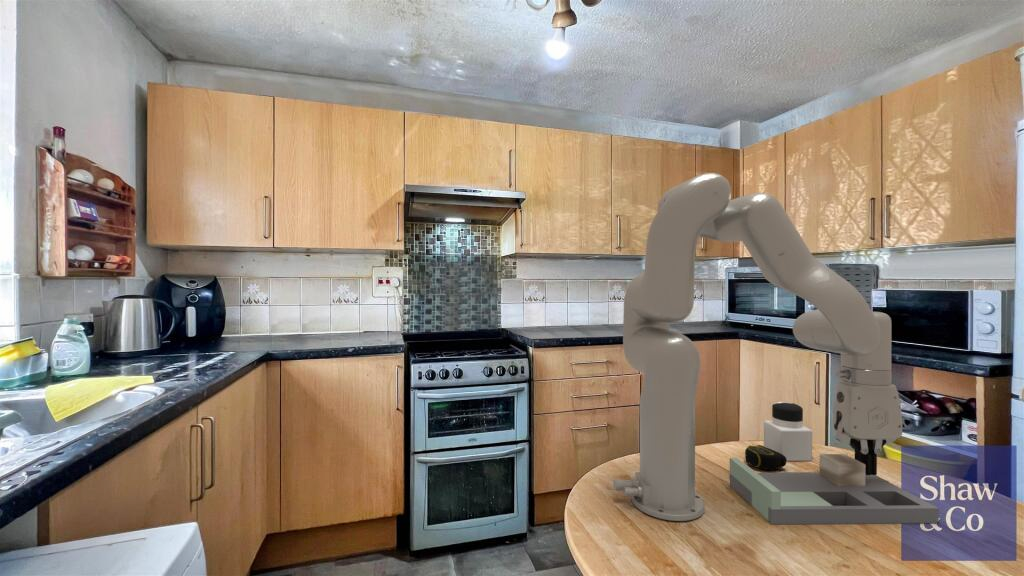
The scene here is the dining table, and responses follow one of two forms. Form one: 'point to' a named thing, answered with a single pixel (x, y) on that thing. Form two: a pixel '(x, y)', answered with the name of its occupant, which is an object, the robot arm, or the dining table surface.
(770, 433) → the medicine bottle
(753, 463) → the tape measure
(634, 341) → the robot arm
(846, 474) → the block
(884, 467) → the dining table surface
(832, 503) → the grey green slotted tray
